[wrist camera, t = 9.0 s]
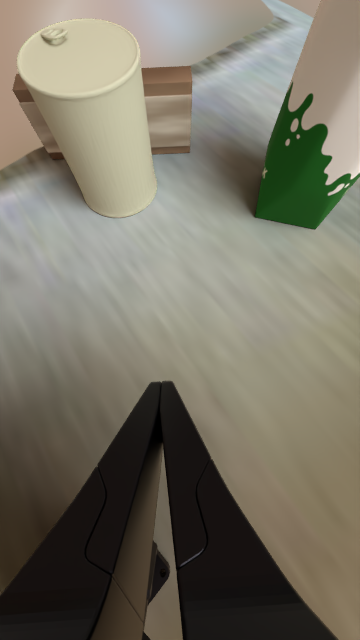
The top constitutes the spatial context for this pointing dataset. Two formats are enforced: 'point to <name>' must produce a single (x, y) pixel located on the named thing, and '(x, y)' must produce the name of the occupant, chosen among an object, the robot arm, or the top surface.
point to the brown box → (161, 108)
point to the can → (94, 109)
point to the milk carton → (317, 123)
